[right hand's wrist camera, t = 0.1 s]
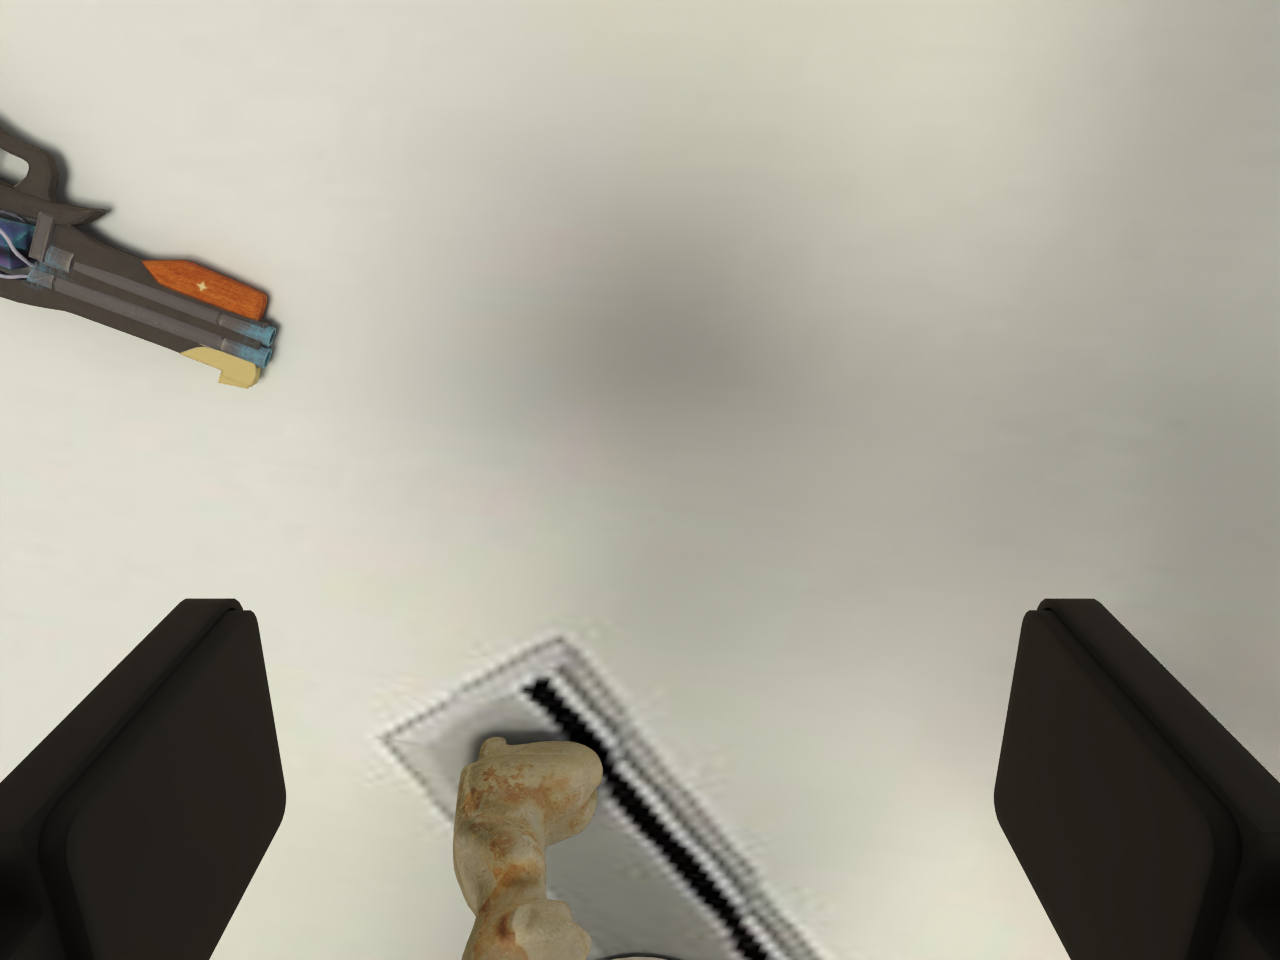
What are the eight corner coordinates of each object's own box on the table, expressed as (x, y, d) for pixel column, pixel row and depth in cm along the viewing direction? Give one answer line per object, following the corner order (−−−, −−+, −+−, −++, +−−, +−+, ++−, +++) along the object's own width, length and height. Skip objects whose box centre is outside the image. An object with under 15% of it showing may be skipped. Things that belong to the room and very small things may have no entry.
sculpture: (592, 816, 50) (574, 1079, 36) (462, 798, 50) (392, 1057, 36) (609, 728, 48) (597, 972, 34) (474, 708, 48) (405, 946, 34)
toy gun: (-192, -36, 33) (-240, 224, 36) (318, 176, 37) (247, 399, 39) (-139, -17, 36) (-188, 224, 38) (332, 179, 40) (265, 389, 42)
